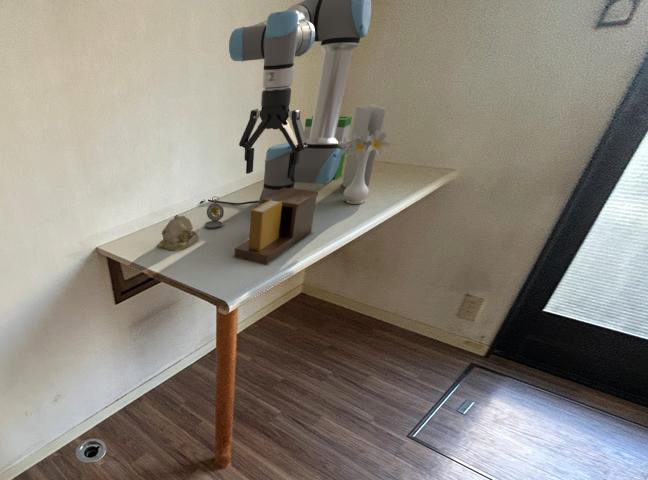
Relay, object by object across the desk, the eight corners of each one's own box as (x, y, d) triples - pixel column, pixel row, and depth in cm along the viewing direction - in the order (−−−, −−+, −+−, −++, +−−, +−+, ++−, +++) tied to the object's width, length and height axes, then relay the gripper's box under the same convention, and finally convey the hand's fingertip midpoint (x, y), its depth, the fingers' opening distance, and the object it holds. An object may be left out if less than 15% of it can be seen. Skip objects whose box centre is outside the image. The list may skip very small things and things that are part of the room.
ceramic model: (172, 253, 144) (171, 224, 138) (153, 245, 151) (151, 217, 145) (203, 241, 150) (202, 213, 143) (183, 233, 157) (182, 206, 151)
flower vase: (338, 194, 175) (351, 126, 160) (382, 201, 164) (401, 128, 148) (322, 202, 169) (333, 133, 154) (366, 210, 158) (383, 136, 142)
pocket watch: (208, 230, 157) (208, 203, 151) (200, 223, 164) (200, 197, 157) (228, 226, 158) (229, 199, 152) (219, 220, 165) (220, 193, 159)
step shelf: (233, 256, 137) (235, 213, 128) (279, 227, 153) (283, 187, 144) (267, 264, 130) (271, 220, 121) (311, 233, 146) (318, 191, 137)
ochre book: (248, 248, 134) (250, 210, 126) (267, 236, 140) (271, 199, 132) (259, 250, 131) (262, 212, 124) (278, 238, 138) (282, 200, 130)
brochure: (367, 192, 173) (386, 108, 154) (353, 193, 174) (371, 110, 155) (354, 183, 184) (371, 104, 166) (342, 184, 185) (356, 105, 166)
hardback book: (298, 176, 202) (305, 119, 187) (305, 172, 206) (312, 116, 191) (335, 179, 192) (345, 119, 177) (341, 175, 196) (352, 116, 181)
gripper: (228, 91, 114) (226, 173, 128) (315, 89, 100) (303, 182, 113) (243, 87, 118) (240, 168, 132) (329, 84, 104) (315, 175, 117)
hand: (269, 174), depth 122 cm, fingers open, 13 cm apart
